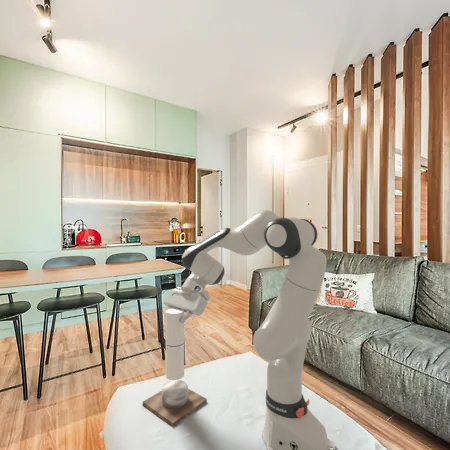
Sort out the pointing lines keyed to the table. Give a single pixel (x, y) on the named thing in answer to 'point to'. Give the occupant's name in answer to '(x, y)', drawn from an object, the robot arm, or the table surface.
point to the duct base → (174, 412)
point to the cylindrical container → (174, 344)
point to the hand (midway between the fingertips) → (173, 319)
